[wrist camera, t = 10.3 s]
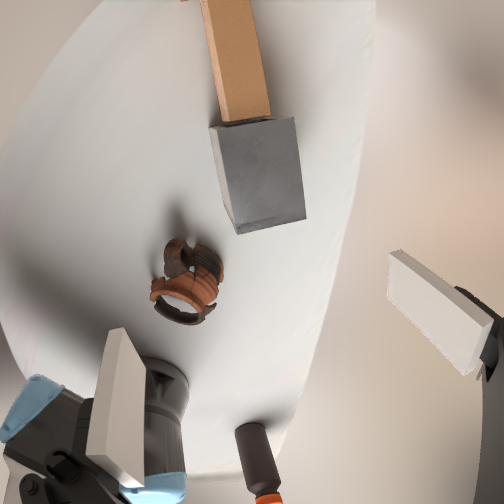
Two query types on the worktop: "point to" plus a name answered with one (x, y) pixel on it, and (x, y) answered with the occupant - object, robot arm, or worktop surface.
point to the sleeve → (259, 172)
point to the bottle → (258, 463)
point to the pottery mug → (188, 281)
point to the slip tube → (235, 59)
